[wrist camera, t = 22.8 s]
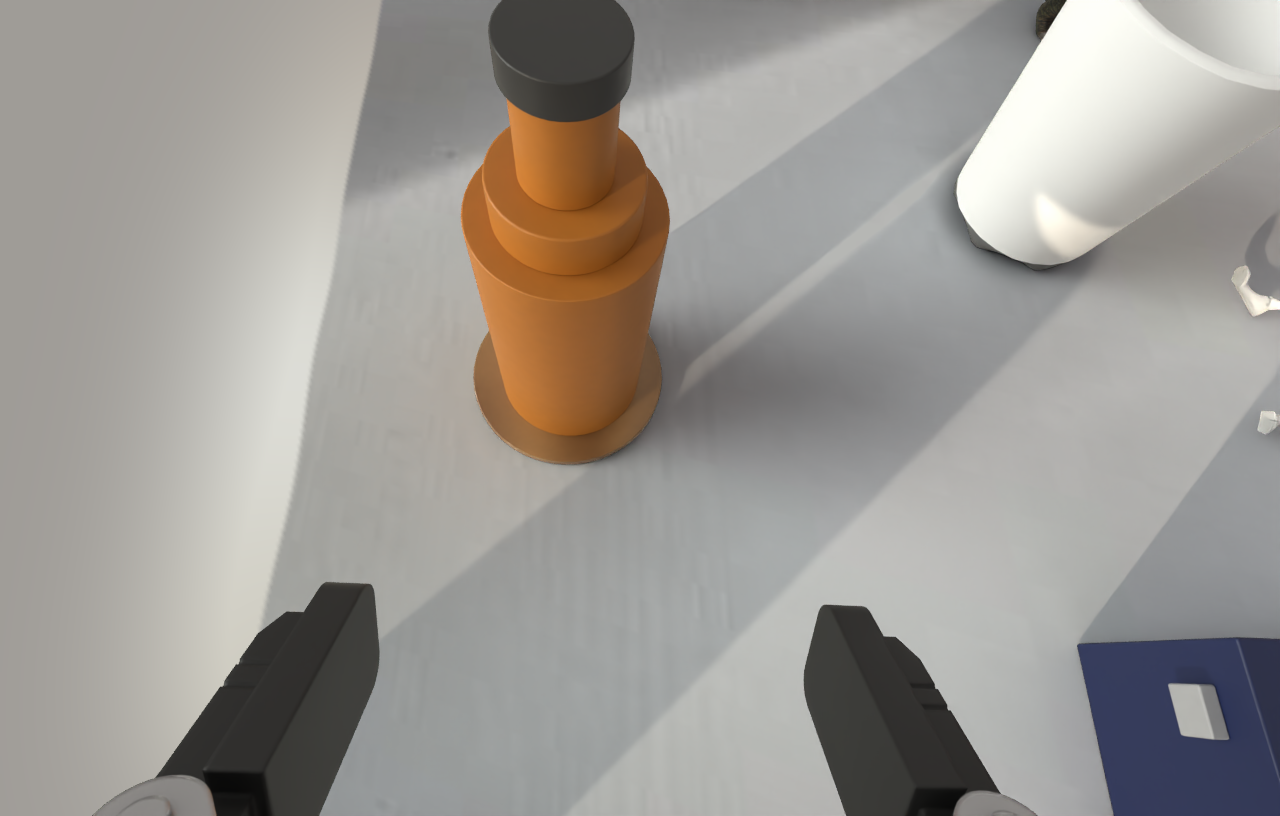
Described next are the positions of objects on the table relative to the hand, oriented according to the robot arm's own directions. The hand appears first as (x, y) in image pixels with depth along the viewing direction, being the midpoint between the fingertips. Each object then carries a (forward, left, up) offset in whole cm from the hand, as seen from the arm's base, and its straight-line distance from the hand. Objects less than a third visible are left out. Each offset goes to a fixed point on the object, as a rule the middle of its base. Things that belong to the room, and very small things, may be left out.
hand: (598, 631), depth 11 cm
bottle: (+5, +11, -14) cm, 18 cm away
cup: (+30, +9, -14) cm, 35 cm away
